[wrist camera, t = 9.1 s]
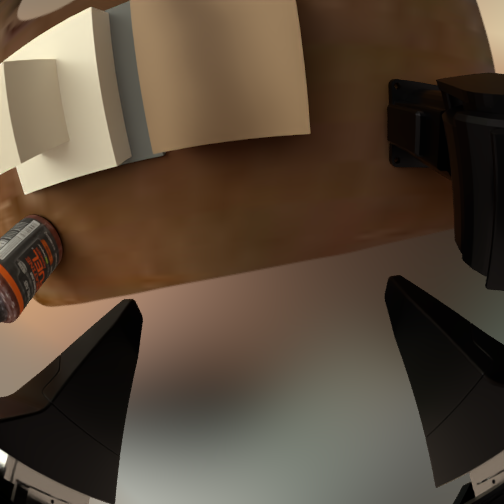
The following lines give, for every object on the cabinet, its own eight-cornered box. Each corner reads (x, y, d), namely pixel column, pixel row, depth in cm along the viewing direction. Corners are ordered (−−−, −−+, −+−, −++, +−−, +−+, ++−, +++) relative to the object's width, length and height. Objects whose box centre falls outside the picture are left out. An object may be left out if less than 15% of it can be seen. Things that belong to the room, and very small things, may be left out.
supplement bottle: (72, 266, 24) (13, 354, 14) (32, 262, 23) (-25, 337, 14) (56, 211, 20) (-24, 292, 11) (16, 212, 20) (-57, 281, 11)
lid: (108, 13, 12) (43, -8, 5) (131, 156, 18) (75, 197, 11) (18, 63, 12) (-49, 74, 6) (42, 183, 18) (-16, 225, 12)
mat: (142, -1, 12) (139, -3, 11) (165, 153, 18) (163, 155, 18) (5, 71, 13) (1, 72, 12) (30, 190, 19) (26, 193, 19)
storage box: (279, -13, 12) (287, -42, 8) (296, 122, 17) (310, 133, 13) (157, 6, 12) (128, -14, 8) (176, 137, 18) (153, 154, 13)
